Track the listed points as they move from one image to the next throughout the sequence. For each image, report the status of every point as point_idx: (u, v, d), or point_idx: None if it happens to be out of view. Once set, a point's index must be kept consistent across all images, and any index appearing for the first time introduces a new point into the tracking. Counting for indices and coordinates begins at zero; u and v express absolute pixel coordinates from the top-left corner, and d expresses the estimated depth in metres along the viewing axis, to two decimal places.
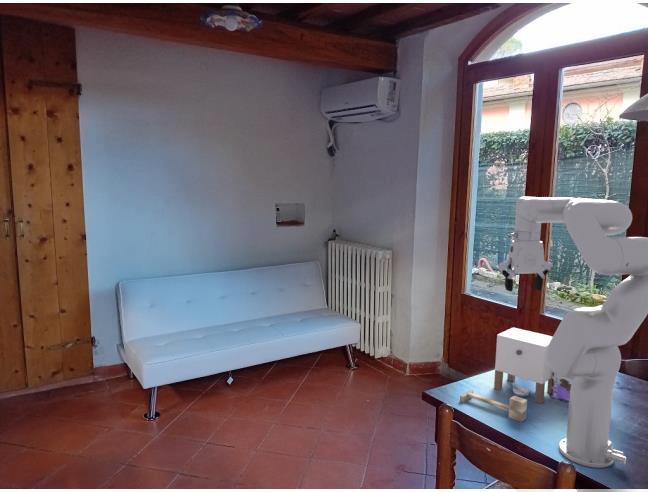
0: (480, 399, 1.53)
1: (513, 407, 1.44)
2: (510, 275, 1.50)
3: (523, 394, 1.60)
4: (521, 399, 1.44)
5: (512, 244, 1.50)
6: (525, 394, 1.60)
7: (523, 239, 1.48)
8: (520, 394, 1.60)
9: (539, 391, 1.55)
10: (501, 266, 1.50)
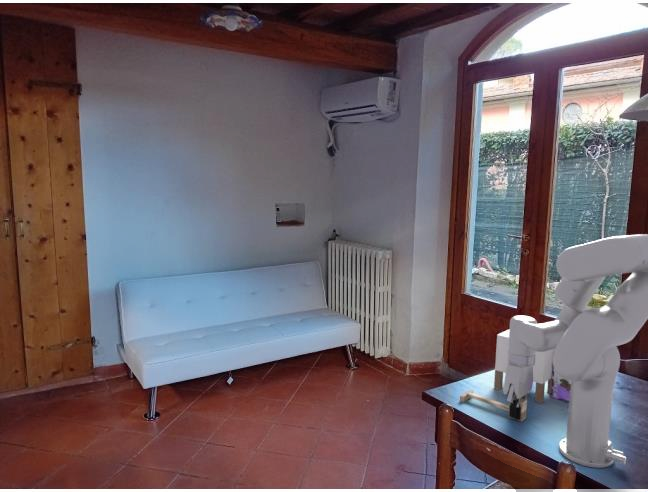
0: (480, 399, 1.53)
1: None
2: None
3: None
4: (521, 399, 1.44)
5: None
6: None
7: None
8: None
9: (539, 391, 1.55)
10: None
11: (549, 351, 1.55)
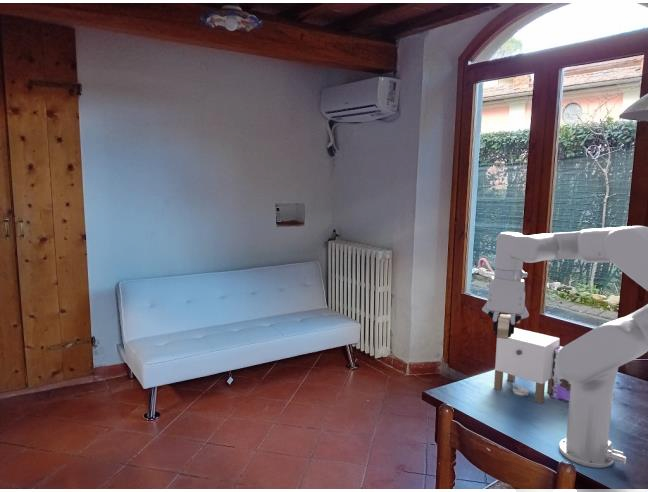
0: None
1: None
2: None
3: (523, 394, 1.60)
4: (506, 317, 1.42)
5: (524, 284, 1.39)
6: (525, 394, 1.60)
7: None
8: (520, 394, 1.60)
9: (539, 391, 1.55)
10: None
11: (549, 351, 1.55)
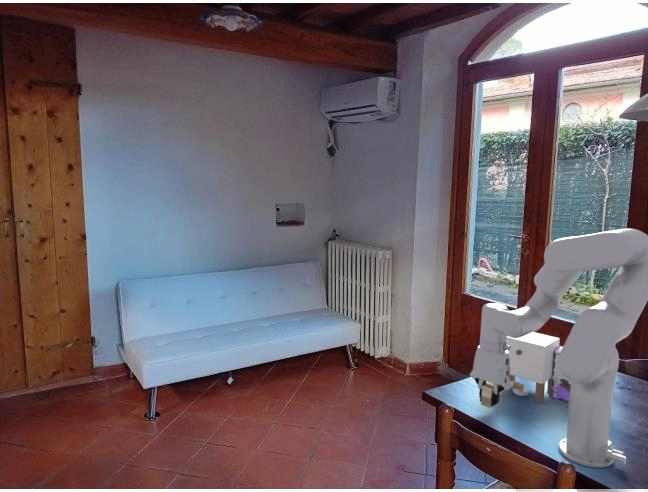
0: None
1: None
2: None
3: (523, 394, 1.60)
4: (490, 386, 1.46)
5: (506, 357, 1.42)
6: (526, 394, 1.60)
7: None
8: (520, 394, 1.60)
9: (539, 391, 1.55)
10: None
11: (549, 351, 1.55)
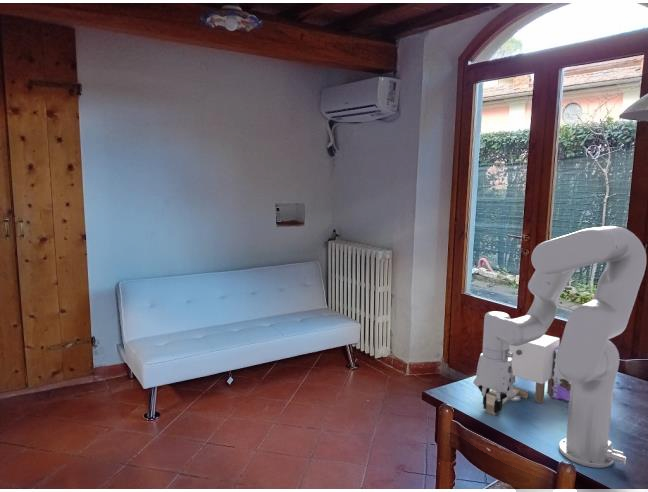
0: None
1: None
2: None
3: (515, 399, 1.56)
4: (494, 394, 1.48)
5: (509, 364, 1.43)
6: (518, 398, 1.56)
7: None
8: (512, 399, 1.57)
9: (539, 391, 1.55)
10: None
11: (549, 351, 1.55)
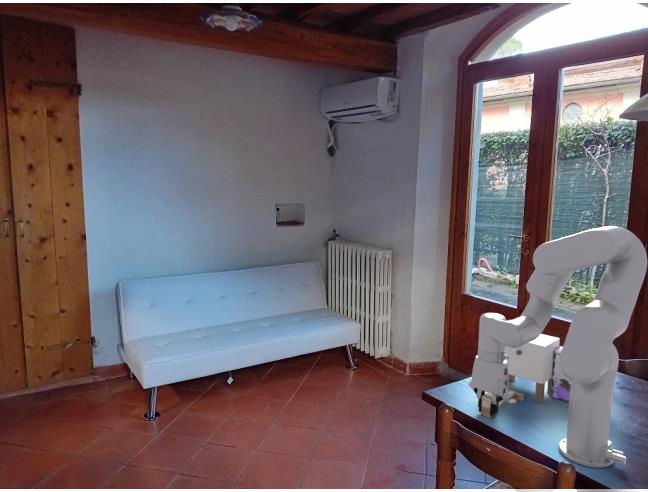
0: None
1: None
2: None
3: (511, 402, 1.55)
4: (490, 396, 1.46)
5: (504, 367, 1.41)
6: (513, 401, 1.55)
7: None
8: (508, 402, 1.55)
9: (539, 391, 1.55)
10: None
11: (549, 351, 1.55)
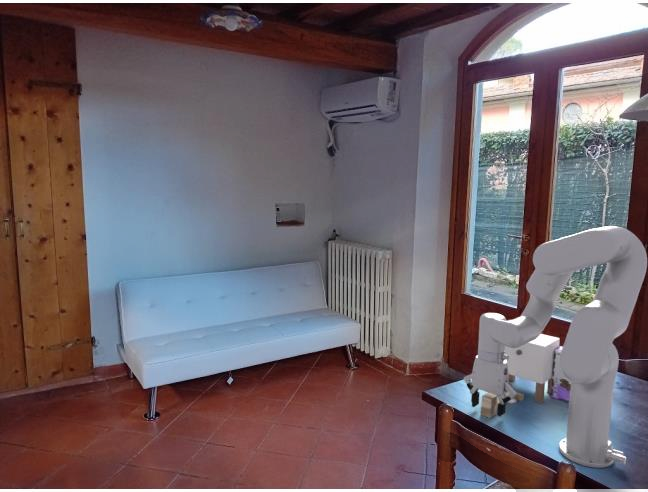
0: None
1: None
2: None
3: (511, 401, 1.55)
4: (489, 397, 1.46)
5: (504, 367, 1.41)
6: (513, 401, 1.55)
7: None
8: (508, 401, 1.55)
9: (539, 391, 1.55)
10: None
11: (549, 351, 1.55)
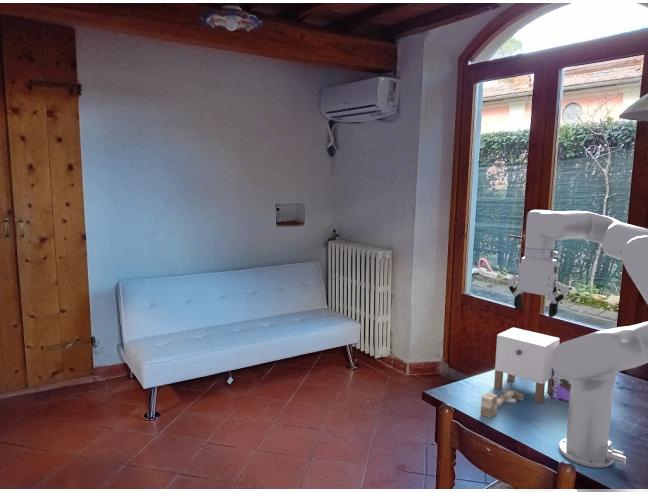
0: None
1: None
2: None
3: (515, 400, 1.55)
4: (489, 397, 1.46)
5: (554, 264, 1.33)
6: (516, 399, 1.56)
7: None
8: (513, 401, 1.55)
9: (539, 391, 1.55)
10: None
11: (549, 351, 1.55)
